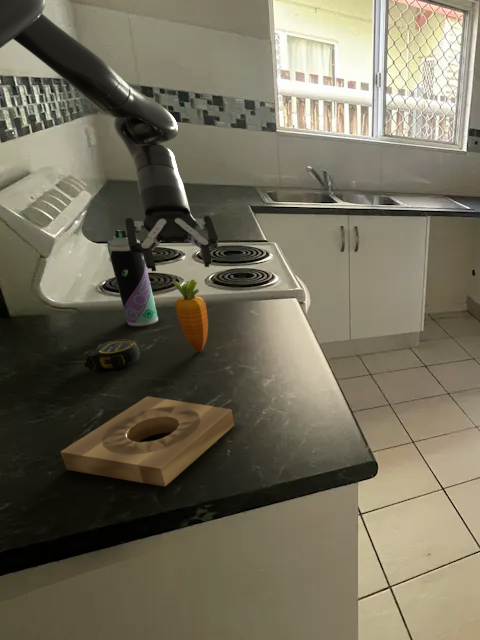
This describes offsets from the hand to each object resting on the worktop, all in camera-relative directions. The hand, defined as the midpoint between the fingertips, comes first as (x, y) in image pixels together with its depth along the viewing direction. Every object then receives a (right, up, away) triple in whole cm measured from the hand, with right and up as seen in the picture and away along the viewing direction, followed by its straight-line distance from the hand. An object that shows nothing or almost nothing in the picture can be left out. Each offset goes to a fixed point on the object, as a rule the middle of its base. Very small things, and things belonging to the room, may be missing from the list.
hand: (181, 267), depth 90 cm
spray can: (-17, -10, +13) cm, 24 cm away
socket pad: (+12, -29, -22) cm, 38 cm away
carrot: (+1, -16, +4) cm, 17 cm away
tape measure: (-10, -19, -4) cm, 21 cm away
